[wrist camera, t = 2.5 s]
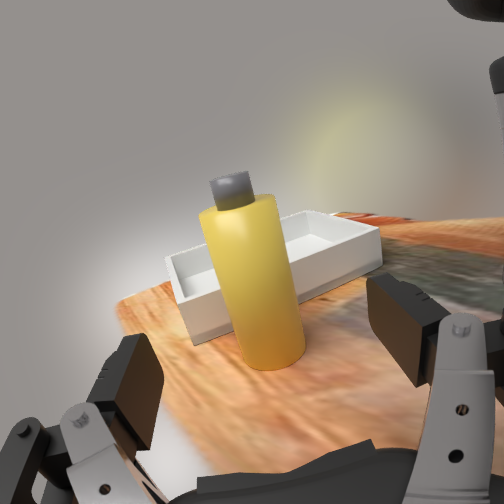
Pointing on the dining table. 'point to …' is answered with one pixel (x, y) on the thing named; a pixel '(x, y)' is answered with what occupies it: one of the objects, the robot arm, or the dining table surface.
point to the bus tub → (301, 263)
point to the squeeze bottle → (254, 272)
